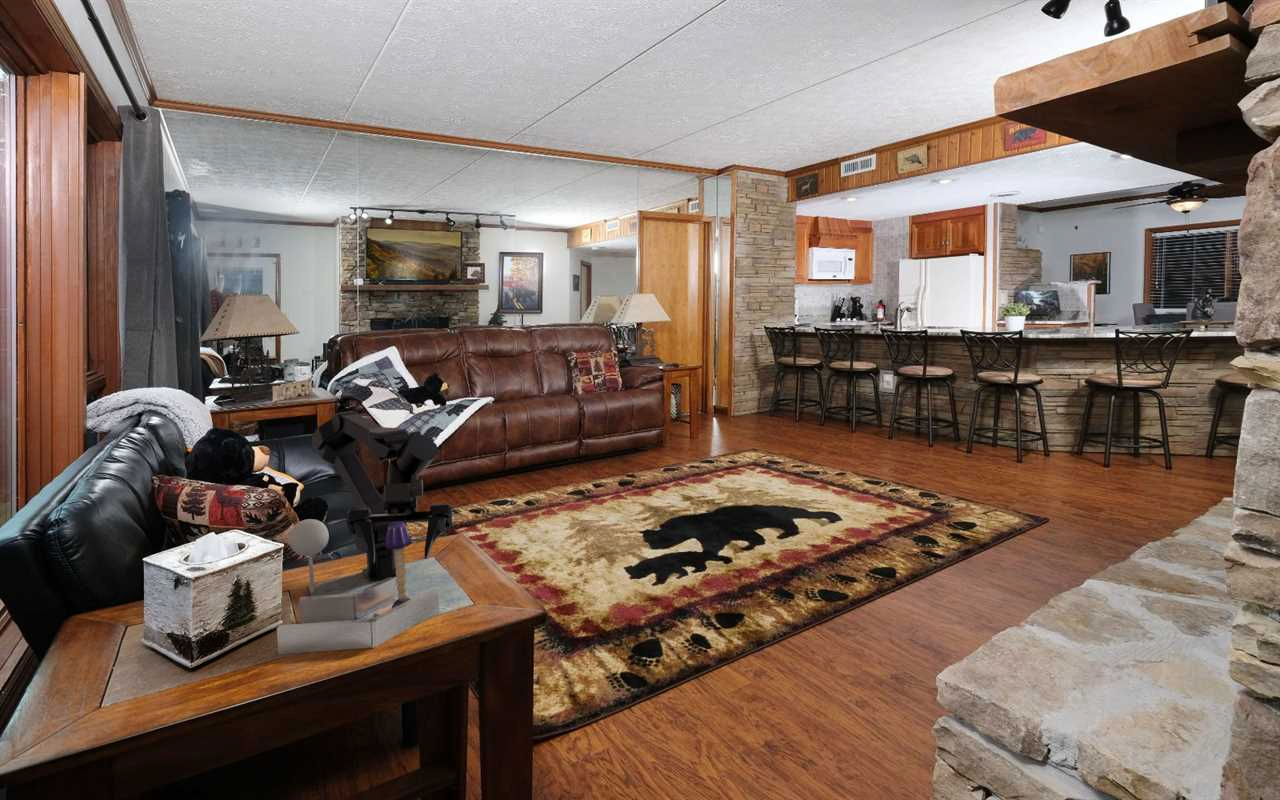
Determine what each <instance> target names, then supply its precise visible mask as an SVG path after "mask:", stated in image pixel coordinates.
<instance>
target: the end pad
mask: <svg viewBox="0 0 1280 800" xmlns="http://www.w3.org/2000/svg"><path fill="white" fill-rule="evenodd" d="M392 605H393V603H391V604H390V605H388V606H387V605H386V607H383V608H382V609H381V608H380V610H379V609H378V611H376V612H374V613H373V614H374V616H375V617H376V616H378V615H380V614H382V613H384V612H386V611H388V610H390V609H392Z"/></svg>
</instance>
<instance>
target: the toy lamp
mask: <svg viewBox="0 0 1280 800" xmlns="http://www.w3.org/2000/svg"><path fill="white" fill-rule="evenodd" d="M411 544H412V538H411V536H410V533H409V531H408V528H407V527H406V525H405V523H404V522H393V523H391V524H389V525H388V529H387V534H386V539H385V547H386V548H388V549H394V552H395V555H394V558H395V567H396V575H395V576H396V578H395V583H396V585H397V587H396V588H397V589H396V590H397V592H398V593H397V598H398V599H396V600H395V601H393V602H394V603H393V602H392V604H393V605H392V604H391V605H392V608H394V607H396V606H398V605H400V604H402V603H404V602H406V601H408V600H410V599H411V598H409V597H408V596H409V595H408V594H409V593H408V585H407V576H406V574H407V571H406V569H405V568H406V562H405V558H406V557H405V553H404V551H405V548H406V547H408V546H410V545H411Z"/></svg>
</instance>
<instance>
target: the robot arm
mask: <svg viewBox="0 0 1280 800" xmlns="http://www.w3.org/2000/svg"><path fill="white" fill-rule="evenodd" d="M357 442H360V443H361V444H364V445H365V446H366V447H367V453H368V454H369V455H370V456H371V457H372V458H373V459H374V460H375V461H377V462H382V461H383V462H384V461H388V460H391V461H390V462H389V463H388V467H387V471H386V476H387V480H386V481H387V482H386V483H387V484H384V485H383V498H382V496H381V495H380V493H379V491H378V490H377V488H376V486H375V485H374V483H373V481H372V480H371V478H370V476H369V474H368V473H367V471H366V469H365V468H364V466H363V464H362V463H361V461H360V459H359V457H358V456H357V454H356V447H357ZM311 444H312V448H313V449H314V450H315V452H317V454H318V455H319V457H320V458H321V460H322V461H323V460H324V461H325V462H328V463H330V464H331V465H332V466H333V465H334V467H335V469H336V471H337V472H338V474H339V476H340V478H341V480H342V481H343V482H344V485H345V487H346V489H347V490H348V492H349V493H350V495H351V497H352V499H353V501H354V503H355V504H356V506H357V508H350V509H349V510H348V511H347V513H346V520H345V522H346V525H347V529H348V532H349V534H350V535H353V536H355V537H354V542H355V548H356V549H358V550H360V551H362V552H363V553H365V555H366V568H363V569H362V573H363V575H364V576H365V577H366V578H367V579H368V580H369V581H370V582H373V581H376V580H380V579H381V580H383V579H387V578H389V577H394V576H396V567H395V562H396V561H395V558H394V555H395V552H394V549H388V548H386V547H385V539H386V534H387V529H388V525H389V524H391V523H393V522H404V523H405V525H406V527H407V526H408V524H409V523H421V522H422V523H425V522H427V530H426V537H425V543H424V559H425V560H427V559H428V558H429V556H430V553H431V551H432V549H433V546H434V544H435V543H436V541H437V539H438V538H439V536H440V534H441V533H445V532H446V530H447V529H451V528H453V508H452V505H451V503H450V502H444V503H443V502H442V503H441V502H440V503H430V505H429V506H430V507H429V510H422V511H418V498H423V497H424V480H423V479H422V478H420V479H419V475H420V474H422V473H424V472H425V470H427V468H428V467H429V466H430V464H431V463H432V462H433V460H435V458H436V457H437V455H438V453H439V449H438V445H437V443H436V442H434V441H433V439H432V438H430V437H428V436H425V435H422V432H421V431H420V430H417V431H411V432H410V433H408V431H407V430H406V429H404V428H399V427H384V426H381V425H380V424H378V423H377V422H374V421H372V420H370V419H368V418H366V417H364V416H362V415H361V414H360V413H359V412H358V411H354V410H351V411H344V412H343V411H342V412H337V413H336V414H334V415H333V416H332V417H331V418H330V419H329V420H327V421H325V422H324V423H322V424H321V425H319V426H317V428H316V430H315V431H314V433H313V434H312V437H311Z"/></svg>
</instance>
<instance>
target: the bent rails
mask: <svg viewBox="0 0 1280 800" xmlns="http://www.w3.org/2000/svg"><path fill="white" fill-rule="evenodd" d="M396 593H397V592H396V578H395V577H394V576H391V577H386V578H384V579H381V581H378V582H376V583H373V584H371V585H369V586H367V587H365V588H362V589H360V590H358V591H356V592H354V593H342V594H327V595H324V594H323V595H310V596H309V595H308V596H300V597H299V599H298V605H299V606H298V607H299V618H300V621H299V622H300V623H294V624H293V623H290V624H279V625H278V626H277V627H276V633H277V634H276V635H277V638H276V639H277V651H278V655H286V654H287V655H288V654H301V653H316V652H331V651H343V650H346V651H347V650H356V649H371V648H372V649H374V648H378V646H380V645H382V644H383V643H385V642H387V641H389V640H390V639H393V638H395V637H396V636H398V635H400V634H401V633H403V632H405V631H407V630H409V629H411V628H413V627H415V626H417V625H419V624H420V623H422V622H424V621H425V620H428V619H429V618H431V617H433V616H435V615H437V614H439V613H440V602H439V601H440V600H439V598H440V597H439V589H438V588H435V587H433V588H431V589H429V590H426V591H424V592H422V593H421V594H419V595H417V596H415V597H413V598H410V600H408V601H406V602H404V603H402V604H400V605H398V606H396V607H394V608H392V609H390V610H388V611H386V612H384V613H382V614H380V615H378V616H376V615H375V616H374V617H373V618H367V619H365V618H364V619H360V618H361V617H364V616H366V615H368V614H370V613H372V612H374V611H376V610H379V609H381V608H382V607H383V608H384V606H387V605H389V604H392V603H393V602H395V601H396V600H397V598H396V597H397V596H396V595H397V594H396Z"/></svg>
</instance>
